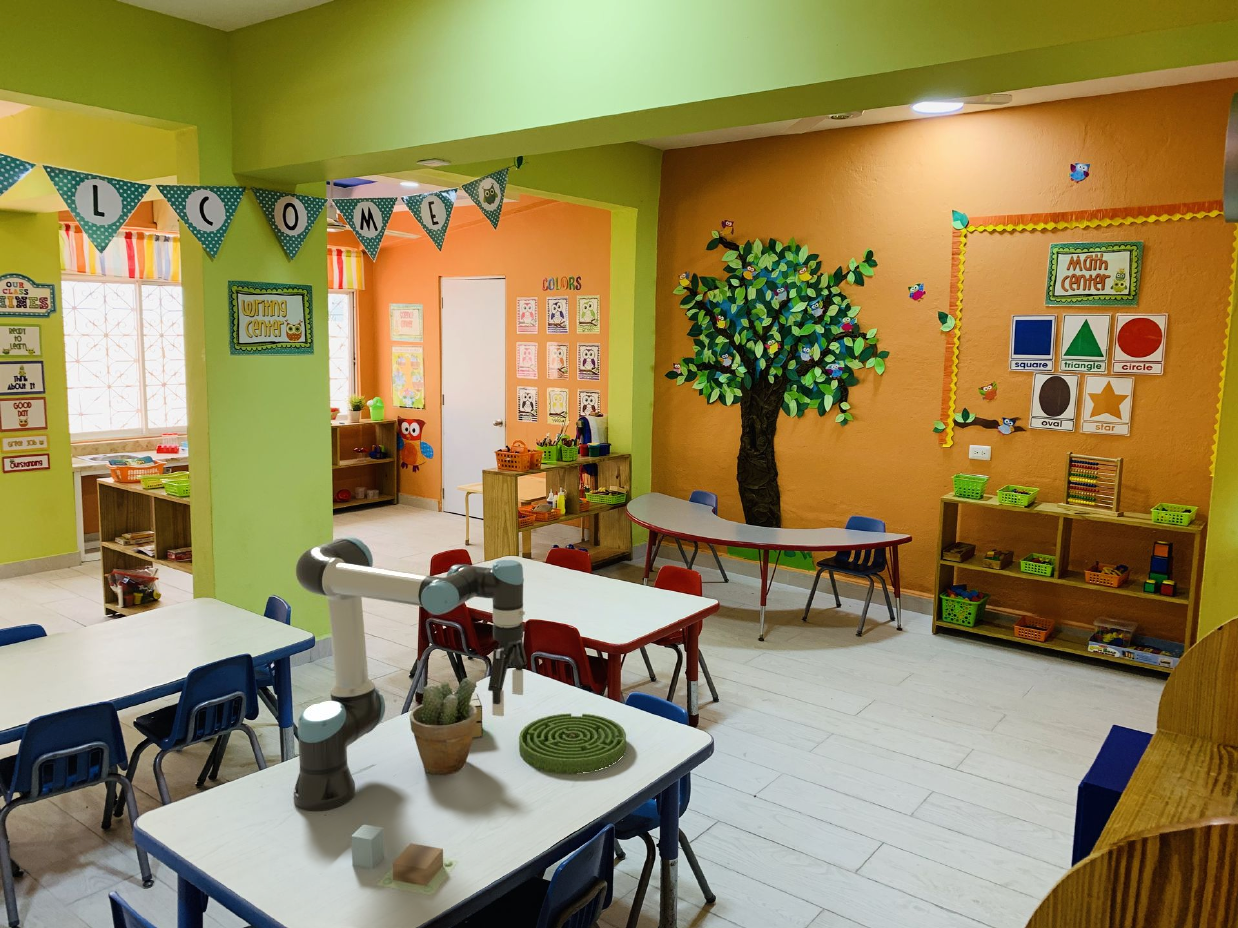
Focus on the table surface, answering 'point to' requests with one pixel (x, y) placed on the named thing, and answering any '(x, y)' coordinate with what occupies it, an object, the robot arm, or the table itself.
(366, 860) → the column brick
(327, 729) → the robot arm
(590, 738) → the maze
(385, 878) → the plate
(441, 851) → the base brick
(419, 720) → the potted plant
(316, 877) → the table surface
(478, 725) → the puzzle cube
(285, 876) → the table surface
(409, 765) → the table surface
